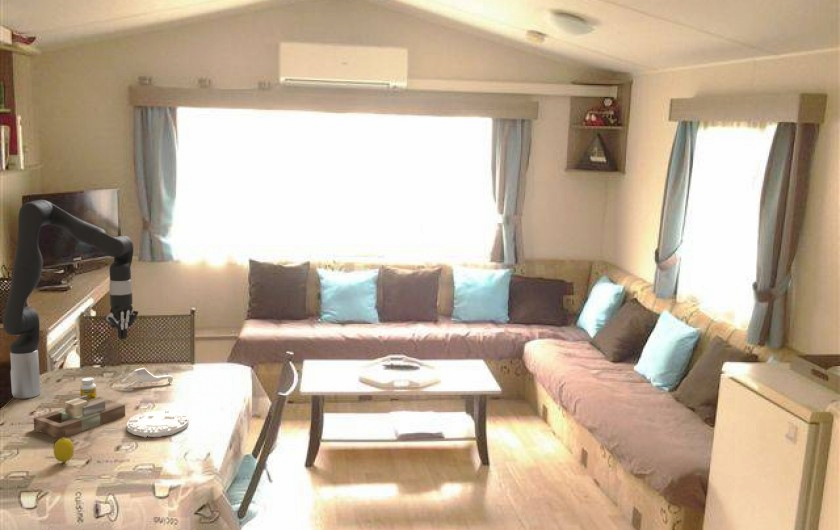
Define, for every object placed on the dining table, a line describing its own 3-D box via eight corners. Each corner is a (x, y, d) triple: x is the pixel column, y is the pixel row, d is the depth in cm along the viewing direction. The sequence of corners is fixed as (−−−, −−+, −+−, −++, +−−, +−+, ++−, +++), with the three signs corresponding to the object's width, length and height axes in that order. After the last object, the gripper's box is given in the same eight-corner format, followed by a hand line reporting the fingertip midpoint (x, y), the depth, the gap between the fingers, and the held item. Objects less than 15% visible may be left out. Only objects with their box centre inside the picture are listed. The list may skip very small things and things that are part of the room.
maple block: (65, 413, 254) (64, 402, 253) (78, 409, 258) (78, 398, 257) (74, 416, 251) (74, 405, 251) (87, 412, 256) (87, 401, 255)
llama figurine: (131, 403, 293) (175, 382, 299) (118, 378, 290) (162, 358, 295) (130, 401, 295) (174, 380, 300) (118, 377, 292) (162, 356, 297)
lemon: (58, 458, 228) (57, 434, 227) (77, 458, 229) (76, 434, 227) (51, 466, 223) (49, 441, 221) (70, 466, 223) (69, 441, 222)
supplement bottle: (95, 400, 278) (94, 375, 276) (98, 405, 273) (97, 380, 272) (79, 403, 275) (78, 378, 273) (82, 407, 270) (81, 382, 269)
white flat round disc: (200, 422, 262) (200, 414, 261) (163, 442, 243) (163, 434, 243) (152, 413, 268) (152, 405, 267) (113, 433, 249) (113, 424, 249)
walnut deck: (34, 429, 250) (32, 409, 248) (99, 407, 271) (98, 389, 270) (60, 438, 243) (58, 418, 241) (125, 415, 264) (124, 396, 263)
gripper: (129, 287, 275) (131, 333, 278) (97, 293, 264) (99, 341, 266) (143, 290, 271) (144, 336, 274) (111, 296, 260) (113, 344, 263)
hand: (122, 338), depth 270 cm, fingers closed
